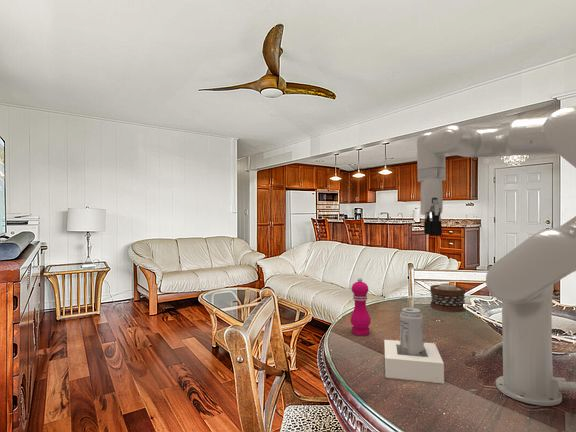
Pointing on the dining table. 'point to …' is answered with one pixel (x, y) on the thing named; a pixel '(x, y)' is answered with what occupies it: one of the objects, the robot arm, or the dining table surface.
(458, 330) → the dining table surface
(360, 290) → the pepper mill
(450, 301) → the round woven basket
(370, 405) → the dining table surface
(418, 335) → the energy drink can
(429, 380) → the socket block
